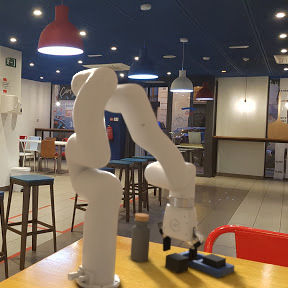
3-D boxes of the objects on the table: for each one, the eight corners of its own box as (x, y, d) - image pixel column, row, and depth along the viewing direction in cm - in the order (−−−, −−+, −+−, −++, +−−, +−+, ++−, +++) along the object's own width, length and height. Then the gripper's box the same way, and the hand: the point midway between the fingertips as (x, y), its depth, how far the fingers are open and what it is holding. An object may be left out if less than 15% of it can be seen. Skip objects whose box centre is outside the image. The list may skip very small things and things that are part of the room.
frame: (218, 277, 114) (219, 271, 114) (174, 260, 127) (174, 254, 126) (234, 271, 119) (234, 265, 119) (190, 255, 132) (190, 249, 132)
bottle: (147, 256, 129) (149, 213, 128) (149, 262, 123) (151, 217, 122) (129, 254, 130) (132, 212, 128) (131, 261, 124) (133, 216, 123)
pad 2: (216, 274, 116) (217, 261, 116) (201, 268, 120) (202, 256, 120) (225, 270, 119) (226, 258, 119) (210, 265, 123) (211, 253, 123)
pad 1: (178, 273, 116) (179, 260, 115) (164, 267, 120) (165, 255, 119) (188, 269, 119) (188, 257, 118) (174, 264, 123) (175, 252, 122)
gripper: (152, 198, 122) (150, 249, 124) (198, 209, 109) (195, 267, 110) (166, 195, 127) (164, 244, 128) (213, 206, 113) (210, 261, 114)
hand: (179, 255), depth 119 cm, fingers open, 9 cm apart
